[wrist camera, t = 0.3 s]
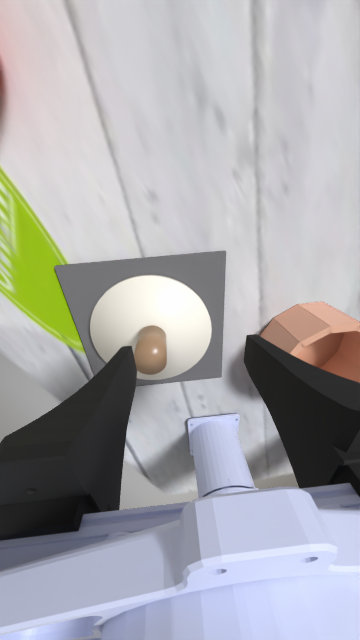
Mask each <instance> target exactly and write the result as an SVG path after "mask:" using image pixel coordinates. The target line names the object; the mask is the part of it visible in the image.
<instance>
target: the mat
mask: <svg viewBox="0 0 360 640" xmlns="http://www.w3.org/2000/svg"><path fill="white" fill-rule="evenodd" d="M225 264H226V251H215V252H204V253H193V254H181V255H170V256H159V257H147V258H136V259H125V260H113V261H102V262H91V263H79V264H68V265H57V266H54V268H55V270H56V273H57V276H58V279H59V281H60V284H61V287H62V289H63V292H64V295H65V297H66V300H67V303H68V305H69V308H70V311H71V314H72V316H73V319H74V322H75V324H76V327H77V330H78V332H79V335H80V338H81V340H82V343H83V346H84V348H85V351H86V354H87V357H88V359H89V362H90V365H91V367H92V370H93V373H94V375H96V374H97V373H98V372H99V371H100V370H101V369H102V368H103V367H104V366H105V365H106V364H107V363H106V362H105V361H104V360H103V359H102V357H101V356H100V355H99V354H98V352H97V350H96V349H95V347H94V344H93V342H92V338H91V334H90V320H91V316H92V313H93V310H94V308H95V306H96V304H97V302H98V301H99V299H100V298H101V297H102V296H103V295H104V293H105V292H106V291H107V290H109V289H110V288H111V287H112V286H114V285H115V284H117V283H118V282H120V281H122V280H125V279H127V278H130V277H134V276H139V275H162V276H166V277H170V278H173V279H175V280H178V281H180V282H182V283H184V284H185V285H187V286H188V287H190V288H191V289H192V290H193V291H194V292H195V293H196V294H197V295H198V296H199V297H200V298H201V300H202V301H203V303H204V305H205V306H206V309H207V311H208V313H209V316H210V320H211V327H212V332H211V339H210V343H209V346H208V348H207V350H206V352H205V354H204V355H203V356H202V358H201V359H200V360H199V361H198V362H197V363H196V364H195V365H194V366H193V367H191V368H190V369H189V370H187V371H185V372H183V373H181V374H179V375H177V376H174V377H171V378H167V379H160V380H144V379H138V378H137V379H136V386H144V385H154V384H163V383H172V382H182V381H191V380H200V379H210V378H219V377H221V375H222V347H223V319H224V292H225Z"/></svg>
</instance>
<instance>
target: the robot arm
mask: <svg viewBox="0 0 360 640" xmlns="http://www.w3.org/2000/svg"><path fill="white" fill-rule="evenodd" d="M244 363H245V365H246V368H247V371H248V373H249V375H250V377H251V379H252V381H253V383H254V385H255V386H256V388H257V390H258V392H259V393H260V395H261V397H262V399H263V401H264V402H265V404H266V406H267V408H268V410H269V412H270V414H271V416H272V419H273V421H274V423H275V425H276V428H277V430H278V433H279V435H280V437H281V440H282V442H283V445H284V447H285V450H286V453H287V455H288V458H289V460H290V463H291V466H292V468H293V471H294V474H295V477H296V480H297V483H298V486H299V488H298V487H276V488H267V489H259V490H258V488H255V486H254V483H253V480H252V477H251V474H250V471H249V468H248V465H247V462H246V459H245V456H244V453H243V450H242V447H241V444H240V441H239V438H238V427H239V418H240V417H239V414H227V415H219V416H210V417H201V418H192V419H188V421H187V423H188V435H189V446H190V455H191V456H194V463H195V471H196V479H197V487H198V495H199V498H197V499H195V500H193V501H192V502H184V503H176V504H167V505H159V506H150V507H142V508H133V509H125V510H119V505H120V491H121V478H122V468H123V458H124V448H125V439H126V431H127V425H128V419H129V415H130V410H131V406H132V401H133V397H134V392H135V387H136V379H137V368H136V364H135V359H134V354H133V350H132V346H123V347H121V348H120V349H119V350H118V351H117V352H116V354H115V355H114V356H113V357H112V358H111V359H110V360H109V362H108V363H107V364H106V365H105V366H104V367H103V368H102V369H101V370H100V371H99V372H98V373H97V374H96V375H95V376H94V377H93V378H92V379H91V380H90V381H89V382H88V383H87V384H85V385H84V386H83V387H82V388H81V389H79V390H78V391H77V392H76V393H75V394H73V395H72V396H70V397H69V398H68V399H66V400H65V401H64V402H62V403H61V404H60V405H58V406H57V407H55V408H54V409H52V410H51V411H49V412H48V413H46V414H44V415H43V416H41V417H40V418H38V419H36V420H35V421H33V422H31V423H29V424H28V425H26V426H24V427H22V428H21V429H18V430H17V431H15V432H13V433H12V434H9V435H8V436H6V437H4V439H3V440H2V441H1V443H0V640H360V383H359V382H356V381H353V380H350V379H347V378H344V377H341V376H338V375H336V374H333V373H330V372H328V371H325V370H323V369H320V368H318V367H316V366H313V365H311V364H309V363H307V362H305V361H303V360H301V359H299V358H297V357H295V356H293V355H291V354H289V353H288V352H286V351H284V350H282V349H281V348H279V347H277V346H276V345H274V344H272V343H271V342H269V341H267V340H266V339H264V338H262V337H260V336H259V335H257V334H255V335H247V338H246V346H245V355H244Z"/></svg>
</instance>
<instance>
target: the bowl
mask: <svg viewBox="0 0 360 640" xmlns="http://www.w3.org/2000/svg"><path fill="white" fill-rule="evenodd" d="M260 337H262V338H264V339H266V340H267V341H269V342H271V343H272V344H274V345H276V346H277V347H279V348H281V349H282V350H284V351H286V352H288V353H289V354H291V355H293V356H295V357H297V358H299V359H301V360H303V361H305V362H307V363H309V364H311V365H313V366H316V367H318V368H320V369H323V370H325V371H328V372H330V373H333V374H336V375H338V376H341V377H344V378H347V379H350V380H353V381H356V382H359V383H360V322H359V321H358V320H356V319H354V318H352V317H350V316H348V315H346V314H345V313H343V312H341V311H339V310H337V309H335V308H333V307H332V306H330V305H328V304H326V303H324V302H316V303H305V304H298V305H295V306H293V307H292V308H290V309H288V310H286V311H285V312H283V313H281V314H279V315H278V316H276V317H274V318H273V319H272V320H271V322H270V323H269V324H268V326H267V327H266V328H265V329H264V331H263V332H262V333H261V335H260Z"/></svg>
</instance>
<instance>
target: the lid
mask: <svg viewBox="0 0 360 640" xmlns="http://www.w3.org/2000/svg"><path fill="white" fill-rule="evenodd" d="M211 332H212V327H211V320H210V316H209V313H208V311H207V309H206V306H205V305H204V303H203V301H202V300H201V298H200V297H199V296H198V295H197V294H196V293H195V292H194V291H193V290H192V289H191V288H190V287H188V286H187V285H185V284H184V283H182V282H180V281H178V280H175V279H173V278H170V277H166V276H162V275H139V276H134V277H130V278H127V279H125V280H122V281H120V282H118V283H117V284H115V285H114V286H112V287H111V288H110V289H109V290H107V291H106V292H105V293H104V295H103V296H102V297H101V298H100V299H99V301H98V302H97V304H96V306H95V308H94V310H93V313H92V316H91V320H90V334H91V338H92V342H93V344H94V347H95V349H96V350H97V352H98V354H99V355H100V356H101V357H102V359H103V360H104V361H105V362H106V363H108V362H109V360H110V359H111V358H112V357H113V356H114V355H115V354H116V352H117V351H118V350H119V349H120V348H121V347H123V346H132V350H133V354H134V359H135V364H136V368H137V378H138V379H144V380H160V379H167V378H171V377H174V376H177V375H179V374H181V373H183V372H185V371H187V370H189V369H190V368H191V367H193V366H194V365H195V364H196V363H197V362H198V361H199V360H200V359H201V358H202V356H203V355H204V354H205V352H206V350H207V348H208V346H209V343H210V339H211Z"/></svg>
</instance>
